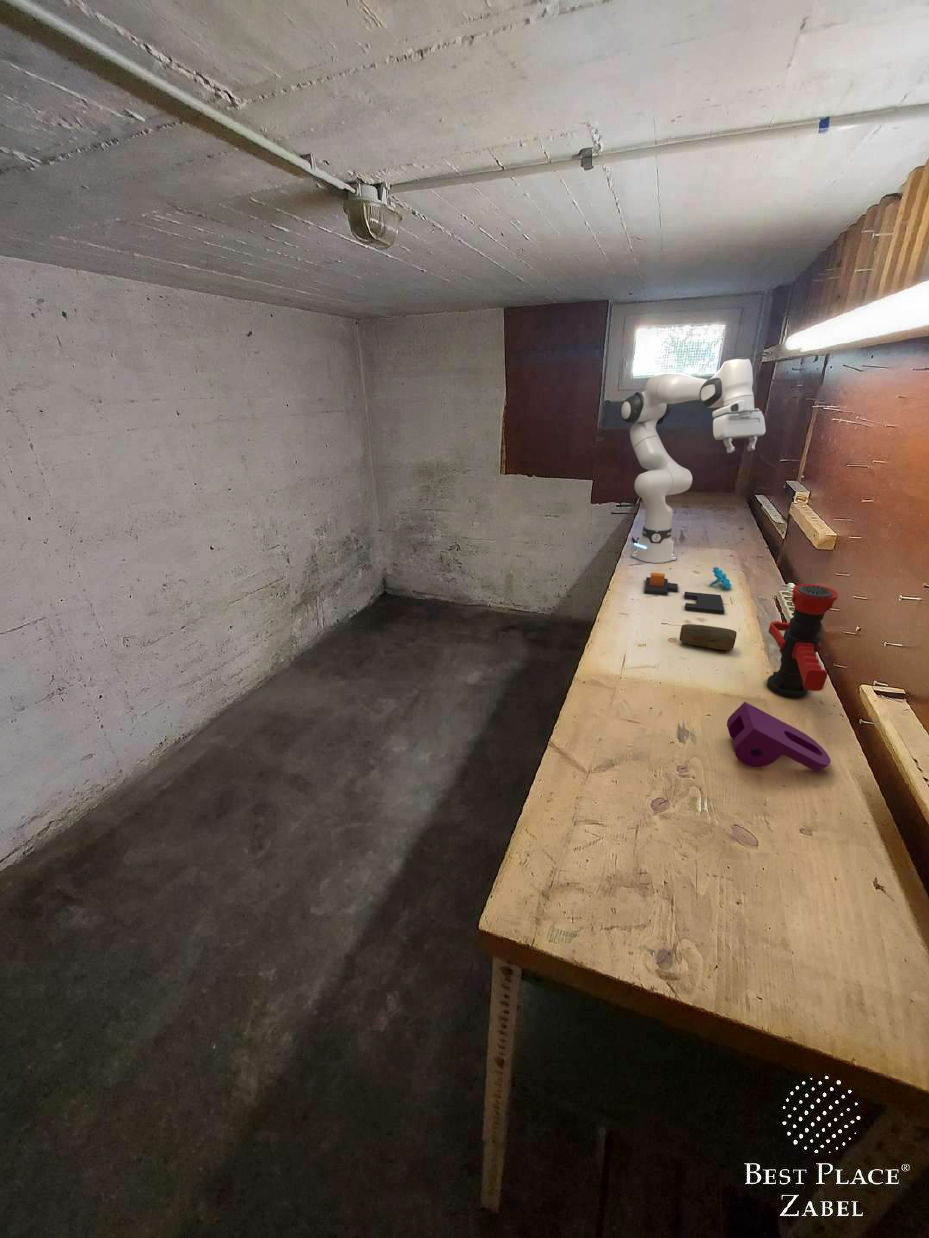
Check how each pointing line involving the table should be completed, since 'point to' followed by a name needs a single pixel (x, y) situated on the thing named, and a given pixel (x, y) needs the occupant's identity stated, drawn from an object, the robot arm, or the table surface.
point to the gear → (721, 578)
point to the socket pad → (704, 603)
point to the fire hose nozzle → (801, 643)
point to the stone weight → (708, 636)
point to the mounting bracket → (771, 740)
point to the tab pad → (659, 585)
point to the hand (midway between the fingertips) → (741, 451)
